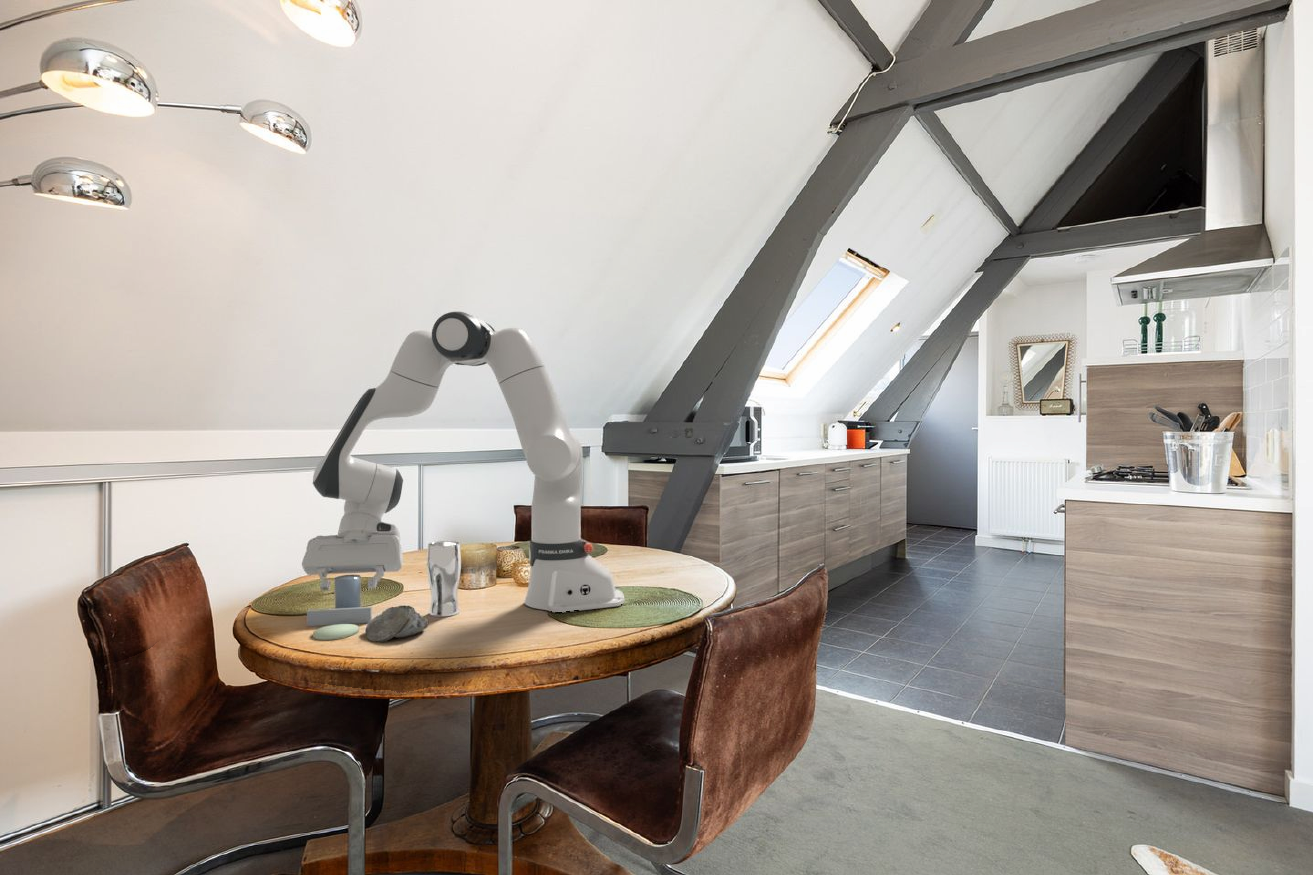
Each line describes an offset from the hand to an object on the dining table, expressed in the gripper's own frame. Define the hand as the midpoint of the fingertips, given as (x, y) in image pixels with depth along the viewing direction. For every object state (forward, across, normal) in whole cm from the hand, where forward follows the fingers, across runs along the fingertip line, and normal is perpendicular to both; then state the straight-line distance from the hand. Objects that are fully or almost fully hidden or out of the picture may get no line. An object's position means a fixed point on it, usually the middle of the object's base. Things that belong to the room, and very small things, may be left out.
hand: (348, 588), depth 141 cm
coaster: (+14, +1, -6) cm, 15 cm away
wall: (+9, 0, -1) cm, 9 cm away
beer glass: (+7, +20, +1) cm, 21 cm away
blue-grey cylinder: (+4, 0, +3) cm, 6 cm away
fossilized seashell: (+16, +13, -8) cm, 22 cm away
